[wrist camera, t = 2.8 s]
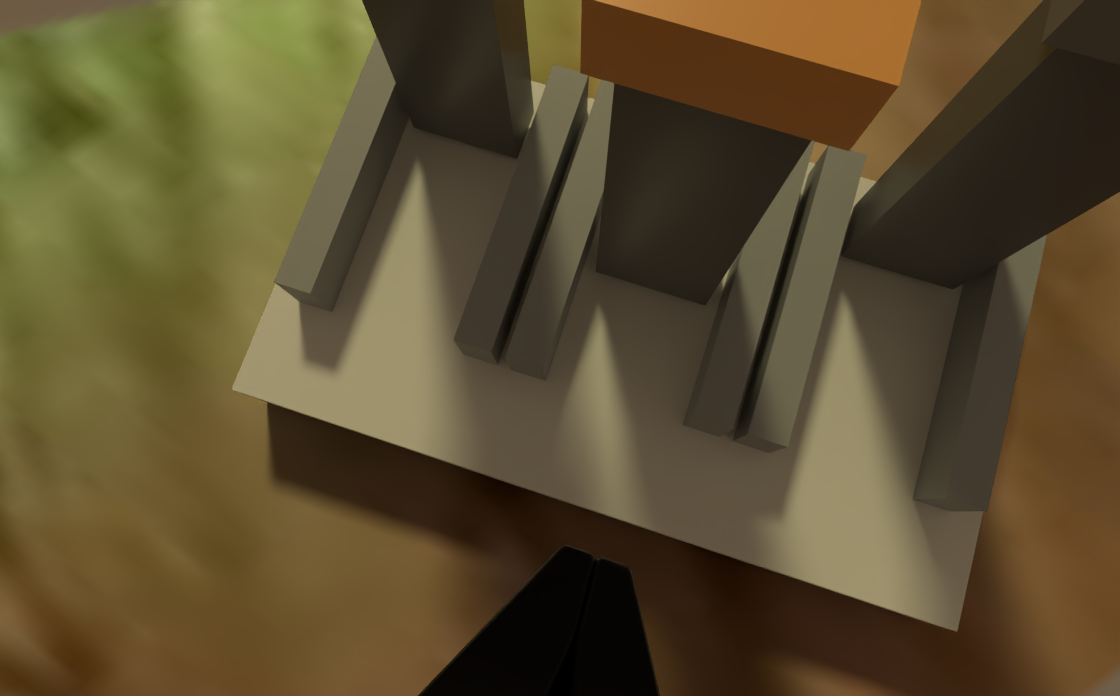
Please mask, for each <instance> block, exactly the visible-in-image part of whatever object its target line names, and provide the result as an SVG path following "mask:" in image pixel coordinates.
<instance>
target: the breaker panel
mask: <svg viewBox="0 0 1120 696" xmlns="http://www.w3.org/2000/svg"><path fill="white" fill-rule="evenodd" d="M588 81H589V76H588V75H584V74H581V73H580V72H578V71H574V70H571V69H568V68H564V67H561V66H557V65H554V64H553V67H552V70H551V73H550V75H549V78H548V81H547V84H546V85H544V84H541V83H537V82H534V81H531V86H532V96H533V107H534V114H533V116H532V119H531V122H530V125H529V127H528V130H527V133H526V136H525V138H524V141H523V144H522V147H521V149H520V152H519V155H518V158H513V157H510V156H507V155H503V154H500V153H497V152H493V151H490V150H487V149H483V148H480V147H477V146H473V145H470V144H467V143H463V142H460V141H457V140H453V139H450V138H447V137H443V136H440V135H437V134H434V133H430V132H427V131H424V130H420V129H417V128H414V126H413V124H412V122H411V119H410V117H409V114H408V112H407V109H406V107H405V104H404V102H403V99H402V97H401V95H400V92H399V90H398V87H397V85H396V82H395V80H394V77H393V75H392V72H391V70H390V68H389V65H388V63H387V60H386V58H385V55H384V53H383V50H382V48H381V45H380V43H379V41H378V38H377V36H376V38H375V41H374V43H373V45H372V48H371V50H370V53H369V55H368V57H367V60H366V62H365V65H364V67H363V69H362V72H361V74H360V77H359V79H358V82H357V84H356V86H355V89H354V91H353V94H352V96H351V98H350V101H349V103H348V106H347V108H346V110H345V113H344V115H343V118H342V120H341V122H340V125H339V127H338V130H337V132H336V134H335V137H334V139H333V142H332V144H331V146H330V149H329V151H328V154H327V156H326V158H325V161H324V163H323V166H322V168H321V170H320V173H319V175H318V178H317V180H316V182H315V185H314V187H313V190H312V192H311V194H310V197H309V199H308V202H307V204H306V206H305V209H304V211H303V214H302V216H301V219H300V221H299V223H298V226H297V228H296V231H295V233H294V235H293V238H292V240H291V243H290V245H289V247H288V250H287V252H286V255H285V257H284V259H283V262H282V264H281V267H280V269H279V271H278V274H277V276H276V279H275V281H274V282H275V283H276V284H275V286H274V289H273V291H272V294H271V296H270V298H269V301H268V303H267V306H266V308H265V310H264V313H263V315H262V318H261V320H260V322H259V325H258V327H257V330H256V332H255V334H254V337H253V339H252V342H251V344H250V346H249V349H248V351H247V354H246V356H245V359H244V361H243V363H242V366H241V368H240V371H239V373H238V375H237V378H236V380H235V383H234V385H233V387H232V390H234V391H237V392H240V393H243V394H245V395H248V396H251V397H254V398H256V399H259V400H262V401H264V402H267V403H270V404H273V405H276V406H279V407H282V408H285V409H288V410H291V411H294V412H297V413H300V414H303V415H306V416H309V417H312V418H315V419H318V420H321V421H324V422H327V423H330V424H333V425H336V426H339V427H342V428H345V429H348V430H351V431H354V432H357V433H360V434H363V435H366V436H369V437H372V438H375V439H378V440H381V441H384V442H387V443H390V444H393V445H396V446H399V447H402V448H405V449H408V450H411V451H414V452H417V453H420V454H423V455H426V456H429V457H432V458H435V459H438V460H441V461H444V462H447V463H450V464H453V465H456V466H459V467H462V468H465V469H468V470H471V471H474V472H477V473H480V474H483V475H486V476H489V477H492V478H495V479H498V480H501V481H504V482H507V483H510V484H513V485H516V486H519V487H522V488H525V489H528V490H531V491H534V492H537V493H540V494H543V495H546V496H549V497H552V498H555V499H558V500H561V501H564V502H567V503H570V504H572V505H575V506H578V507H581V508H584V509H587V510H590V511H593V512H596V513H599V514H602V515H605V516H608V517H611V518H614V519H617V520H620V521H623V522H626V523H629V524H632V525H635V526H638V527H641V528H644V529H647V530H650V531H653V532H656V533H659V534H662V535H665V536H668V537H671V538H674V539H677V540H680V541H683V542H686V543H689V544H692V545H695V546H698V547H701V548H704V549H707V550H710V551H713V552H716V553H719V554H722V555H725V556H728V557H731V558H734V559H737V560H740V561H743V562H746V563H749V564H752V565H755V566H758V567H761V568H764V569H767V570H770V571H773V572H776V573H779V574H782V575H785V576H788V577H791V578H794V579H797V580H800V581H803V582H806V583H809V584H812V585H815V586H818V587H821V588H824V589H827V590H830V591H833V592H836V593H839V594H842V595H845V596H848V597H851V598H854V599H857V600H860V601H863V602H866V603H869V604H872V605H875V606H878V607H881V608H884V609H887V610H890V611H893V612H896V613H899V614H902V615H905V616H908V617H911V618H914V619H917V620H920V621H923V622H927V623H930V624H933V625H936V626H940V627H943V628H946V629H949V630H953V631H956V632H957V631H958V626H959V621H960V617H961V612H962V608H963V603H964V598H965V594H966V589H967V584H968V580H969V575H970V571H971V566H972V561H973V557H974V552H975V548H976V543H977V538H978V534H979V529H980V524H981V520H982V515H983V511H987V510H988V505H989V501H990V496H991V491H992V487H993V482H994V478H995V473H996V468H997V464H998V459H999V454H1000V450H1001V445H1002V440H1003V436H1004V431H1005V427H1006V422H1007V417H1008V413H1009V408H1010V403H1011V399H1012V394H1013V390H1014V385H1015V380H1016V376H1017V371H1018V366H1019V362H1020V357H1021V352H1022V348H1023V343H1024V339H1025V334H1026V329H1027V325H1028V320H1029V315H1030V311H1031V306H1032V301H1033V297H1034V292H1035V288H1036V283H1037V278H1038V274H1039V269H1040V264H1041V260H1042V255H1043V251H1044V246H1045V241H1046V237H1047V235H1045V236H1043V237H1042V238H1040V239H1038V240H1037V241H1035V242H1033V243H1032V244H1030V245H1028V246H1026V247H1025V248H1023V249H1021V250H1020V251H1018V252H1016V253H1014V254H1013V255H1011V256H1009V257H1008V258H1006V259H1004V260H1003V261H1001V262H999V263H997V264H996V265H994V266H992V267H991V268H989V269H987V270H986V271H984V272H982V273H980V274H979V275H977V276H975V277H974V278H972V279H970V280H969V281H967V282H965V283H963V284H962V285H960V286H958V287H957V288H955V289H953V290H952V289H949V288H946V287H942V286H939V285H936V284H932V283H929V282H926V281H923V280H919V279H916V278H913V277H909V276H906V275H903V274H899V273H896V272H893V271H889V270H886V269H883V268H879V267H876V266H873V265H869V264H866V263H863V262H859V261H856V260H853V259H849V258H846V257H843V256H840V255H841V252H842V248H843V244H844V241H845V237H846V233H847V229H848V226H849V222H850V218H851V215H852V211H853V207H854V206H855V205H856V204H857V203H858V201H859V200H860V199H861V198H862V197H863V196H864V195H865V194H866V193H867V192H868V191H869V189H870V188H871V187H872V186H873V185H874V184H875V183H876V181H873V180H869V179H866V178H862V177H861V174H862V170H863V166H864V163H865V159H866V155H864V154H861V153H857V152H854V151H850V150H849V151H846V150H843V149H839V148H836V147H832V146H829V145H828V147H827V148H826V150H825V151H824V152H823V154H822V155H821V157H820V158H819V160H818V161H817V162H816V164H814V163H811V162H809V160H810V157H811V153H812V150H813V146H814V143H815V141H811V142H810V144H809V145H808V147H807V149H806V150H805V152H804V153H803V155H802V156H801V158H800V159H799V161H798V163H797V164H796V166H795V167H794V169H793V170H792V172H791V173H790V175H789V177H788V178H787V180H786V181H785V183H784V184H783V186H782V187H781V189H780V190H779V192H778V194H777V195H776V197H775V198H774V200H773V201H772V203H771V204H770V206H769V208H768V209H767V211H766V212H765V214H764V215H763V217H762V218H761V220H760V222H759V223H758V225H757V226H756V228H755V229H754V231H753V232H752V234H751V236H750V237H749V239H748V240H747V242H746V243H745V245H744V246H743V248H742V250H741V251H740V253H739V254H738V256H737V257H736V259H735V260H734V262H733V263H732V265H731V267H730V268H729V270H728V271H727V273H726V274H725V276H724V277H723V279H722V281H721V282H720V284H719V285H718V287H717V288H716V290H715V291H714V293H713V295H712V296H711V298H710V299H709V301H708V302H707V304H706V305H701V304H698V303H695V302H692V301H689V300H685V299H682V298H679V297H676V296H672V295H669V294H666V293H663V292H659V291H656V290H653V289H650V288H647V287H643V286H640V285H637V284H634V283H630V282H627V281H624V280H621V279H617V278H614V277H611V276H608V275H605V274H601V273H598V272H596V262H597V252H598V242H599V232H600V222H601V212H602V202H603V192H604V182H605V172H606V162H607V152H608V142H609V132H610V122H611V112H612V102H613V92H614V83H612V82H608V81H605V80H601V83H600V86H599V89H598V92H597V94H596V97H595V99H592V98H589V97H588Z"/></svg>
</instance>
